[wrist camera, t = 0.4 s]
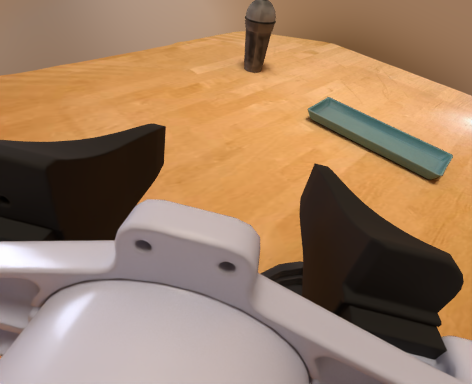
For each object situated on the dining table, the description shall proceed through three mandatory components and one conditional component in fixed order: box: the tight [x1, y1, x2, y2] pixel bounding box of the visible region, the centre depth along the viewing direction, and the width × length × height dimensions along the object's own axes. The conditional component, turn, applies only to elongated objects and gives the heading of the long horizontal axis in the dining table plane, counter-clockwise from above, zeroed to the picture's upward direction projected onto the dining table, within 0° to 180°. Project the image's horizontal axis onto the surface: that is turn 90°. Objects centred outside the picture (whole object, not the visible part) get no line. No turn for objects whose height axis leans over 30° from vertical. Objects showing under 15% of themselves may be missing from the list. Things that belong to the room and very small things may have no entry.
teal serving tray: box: [308, 97, 453, 180], centre depth 55 cm, size 26×9×2 cm, turn 48°
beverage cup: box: [244, 0, 276, 72], centre depth 68 cm, size 7×7×20 cm
